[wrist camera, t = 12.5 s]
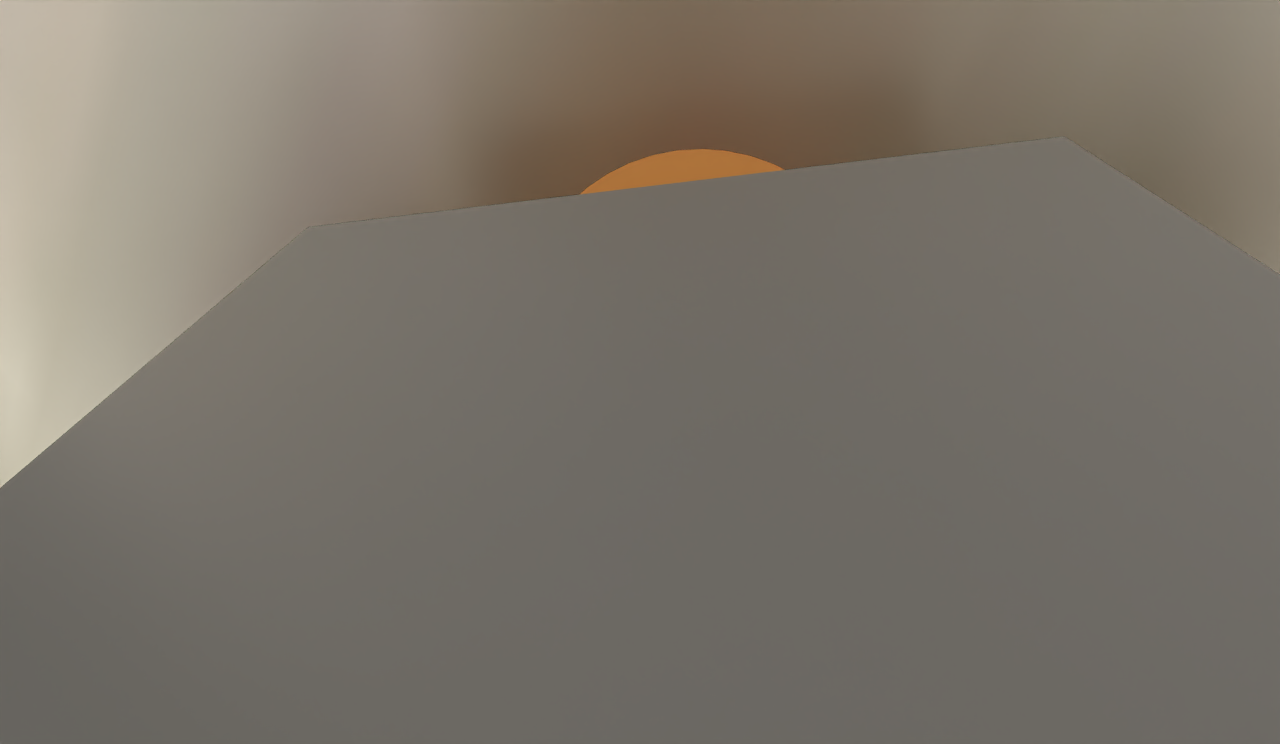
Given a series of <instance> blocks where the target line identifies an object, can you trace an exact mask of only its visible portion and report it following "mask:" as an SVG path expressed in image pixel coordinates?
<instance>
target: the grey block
mask: <svg viewBox="0 0 1280 744" xmlns="http://www.w3.org/2000/svg"><path fill="white" fill-rule="evenodd" d="M0 744H1280V274H1278V273H1277V272H1275V271H1273V270H1272V269H1270V268H1269V267H1267V266H1266V265H1264V264H1263V263H1261V262H1259V261H1258V260H1256V259H1255V258H1253V257H1252V256H1250V255H1249V254H1247V253H1245V252H1244V251H1242V250H1241V249H1239V248H1238V247H1236V246H1235V245H1233V244H1231V243H1230V242H1228V241H1227V240H1225V239H1224V238H1222V237H1221V236H1219V235H1217V234H1216V233H1214V232H1213V231H1211V230H1210V229H1208V228H1206V227H1205V226H1203V225H1202V224H1200V223H1199V222H1197V221H1196V220H1194V219H1192V218H1191V217H1189V216H1188V215H1186V214H1185V213H1183V212H1182V211H1180V210H1178V209H1177V208H1175V207H1174V206H1172V205H1171V204H1169V203H1168V202H1166V201H1164V200H1163V199H1161V198H1160V197H1158V196H1157V195H1155V194H1154V193H1152V192H1150V191H1149V190H1147V189H1146V188H1144V187H1143V186H1141V185H1140V184H1138V183H1136V182H1135V181H1133V180H1132V179H1130V178H1129V177H1127V176H1125V175H1124V174H1122V173H1121V172H1119V171H1118V170H1116V169H1115V168H1113V167H1111V166H1110V165H1108V164H1107V163H1105V162H1104V161H1102V160H1101V159H1099V158H1097V157H1096V156H1094V155H1093V154H1091V153H1090V152H1088V151H1087V150H1085V149H1083V148H1082V147H1080V146H1079V145H1077V144H1076V143H1074V142H1073V141H1071V140H1069V139H1068V138H1066V137H1065V136H1064V137H1055V138H1047V139H1039V140H1030V141H1022V142H1014V143H1005V144H997V145H989V146H980V147H972V148H964V149H955V150H947V151H939V152H930V153H922V154H913V155H905V156H897V157H888V158H880V159H872V160H863V161H855V162H847V163H838V164H830V165H822V166H813V167H805V168H797V169H788V170H780V171H772V172H763V173H755V174H746V175H738V176H730V177H721V178H713V179H705V180H696V181H688V182H680V183H671V184H663V185H655V186H646V187H638V188H630V189H621V190H613V191H605V192H596V193H588V194H579V195H571V196H563V197H554V198H546V199H538V200H529V201H521V202H513V203H504V204H496V205H488V206H479V207H471V208H463V209H454V210H446V211H437V212H429V213H421V214H412V215H404V216H396V217H387V218H379V219H371V220H362V221H354V222H346V223H337V224H329V225H321V226H312V227H308V228H306V229H305V230H304V231H303V232H302V233H300V234H299V235H298V236H297V237H296V238H295V239H293V240H292V241H291V242H290V243H289V244H287V245H286V246H285V247H284V248H283V249H282V250H280V251H279V252H278V253H277V254H276V255H275V256H273V257H272V258H271V259H270V260H269V261H267V262H266V263H265V264H264V265H263V266H262V267H260V268H259V269H258V270H257V271H256V272H254V273H253V274H252V275H251V276H250V277H249V278H247V279H246V280H245V281H244V282H243V283H241V284H240V285H239V286H238V287H237V288H236V289H234V290H233V291H232V292H231V293H230V294H229V295H227V296H226V297H225V298H224V299H223V300H221V301H220V302H219V303H218V304H217V305H216V306H214V307H213V308H212V309H211V310H210V311H208V312H207V313H206V314H205V315H204V316H203V317H201V318H200V319H199V320H198V321H197V322H195V323H194V324H193V325H192V326H191V327H190V328H188V329H187V330H186V331H185V332H184V333H183V334H181V335H180V336H179V337H178V338H177V339H175V340H174V341H173V342H172V343H171V344H170V345H168V346H167V347H166V348H165V349H164V350H162V351H161V352H160V353H159V354H158V355H157V356H155V357H154V358H153V359H152V360H151V361H149V362H148V363H147V364H146V365H145V366H144V367H142V368H141V369H140V370H139V371H138V372H137V373H135V374H134V375H133V376H132V377H131V378H129V379H128V380H127V381H126V382H125V383H124V384H122V385H121V386H120V387H119V388H118V389H116V390H115V391H114V392H113V393H112V394H111V395H109V396H108V397H107V398H106V399H105V400H103V401H102V402H101V403H100V404H99V405H98V406H96V407H95V408H94V409H93V410H92V411H91V412H89V413H88V414H87V415H86V416H85V417H83V418H82V419H81V420H80V421H79V422H78V423H76V424H75V425H74V426H73V427H72V428H70V429H69V430H68V431H67V432H66V433H65V434H63V435H62V436H61V437H60V438H59V439H57V440H56V441H55V442H54V443H53V444H52V445H50V446H49V447H48V448H47V449H46V450H45V451H43V452H42V453H41V454H40V455H39V456H37V457H36V458H35V459H34V460H33V461H32V462H30V463H29V464H28V465H27V466H26V467H24V468H23V469H22V470H21V471H20V472H19V473H17V474H16V475H15V476H14V477H13V478H11V479H10V480H9V481H8V482H7V483H6V484H4V485H3V486H2V487H1V488H0Z"/></svg>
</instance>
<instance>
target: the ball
mask: <svg viewBox="0 0 1280 744" xmlns="http://www.w3.org/2000/svg"><path fill="white" fill-rule="evenodd" d="M780 170H784V169H782V168H780V167H779V166H777V165H774V164H772V163H769V162H766V161H764V160H761V159H758V158H755V157H753V156H749V155H744V154H739V153H735V152H730V151H722V150H710V149H692V150H676V151H671V152H666V153H661V154H655V155H652V156H649V157H646V158H643V159H640V160H637V161H634V162H631V163H628V164H626V165H624V166H622V167H620V168H618V169H616V170H614V171H612V172H610V173H608V174H607V175H605V176H604V177H602V178H601V179H599V180H598V181H596V182H595V183H593V184H592V185H590V186H589V187H587V188H586V189H585V190H584V191H583V192H582V193H580V194H588V193H596V192H605V191H613V190H621V189H630V188H638V187H646V186H655V185H663V184H671V183H680V182H688V181H696V180H705V179H713V178H721V177H730V176H738V175H746V174H755V173H763V172H772V171H780Z"/></svg>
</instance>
